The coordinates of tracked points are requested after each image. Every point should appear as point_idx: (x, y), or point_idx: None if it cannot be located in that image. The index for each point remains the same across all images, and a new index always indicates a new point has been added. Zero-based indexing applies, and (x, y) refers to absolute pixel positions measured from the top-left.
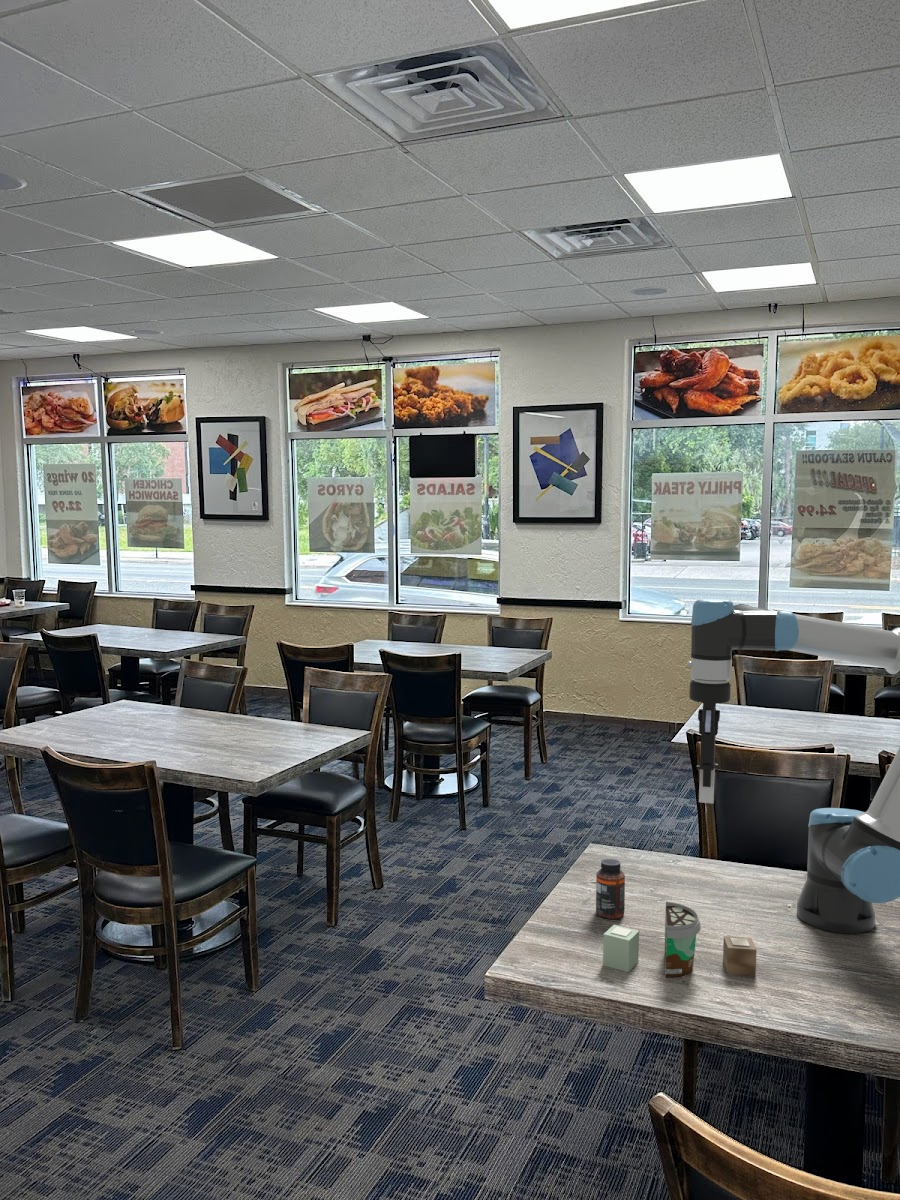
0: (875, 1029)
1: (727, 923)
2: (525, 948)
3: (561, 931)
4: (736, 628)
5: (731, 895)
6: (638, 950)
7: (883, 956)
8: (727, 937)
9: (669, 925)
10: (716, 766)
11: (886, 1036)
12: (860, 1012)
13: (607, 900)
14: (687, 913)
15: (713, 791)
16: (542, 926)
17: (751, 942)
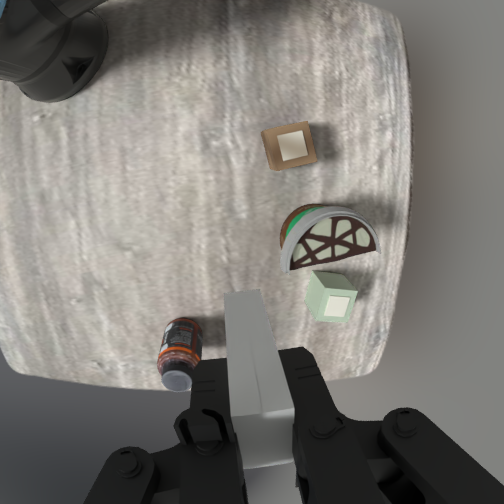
0: (368, 14)
1: (132, 181)
2: None
3: None
4: None
5: (38, 197)
6: (317, 276)
7: None
8: (280, 165)
9: (361, 251)
10: (227, 420)
11: (376, 9)
12: (339, 18)
13: (201, 347)
14: (307, 234)
15: (267, 320)
16: None
17: (284, 128)
